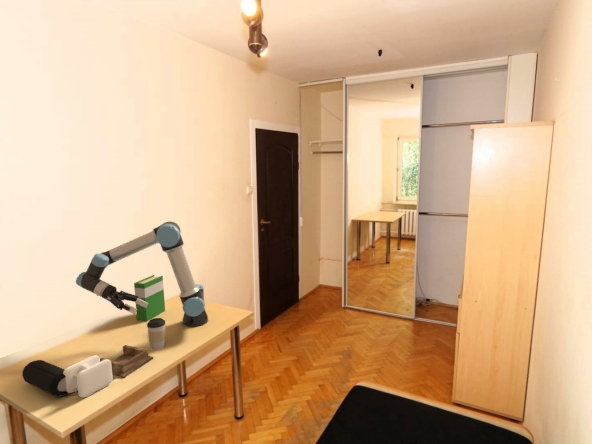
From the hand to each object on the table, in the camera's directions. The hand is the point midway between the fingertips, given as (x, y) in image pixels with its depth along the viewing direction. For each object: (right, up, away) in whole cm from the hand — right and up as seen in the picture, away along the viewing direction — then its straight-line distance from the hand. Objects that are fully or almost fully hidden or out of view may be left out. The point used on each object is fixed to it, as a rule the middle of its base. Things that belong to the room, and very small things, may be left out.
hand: (141, 308), depth 192 cm
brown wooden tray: (-1, -23, -17) cm, 28 cm away
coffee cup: (+8, -20, +1) cm, 22 cm away
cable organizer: (-7, -26, -36) cm, 45 cm away
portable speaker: (-25, -26, -35) cm, 50 cm away
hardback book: (-12, -15, +43) cm, 47 cm away
